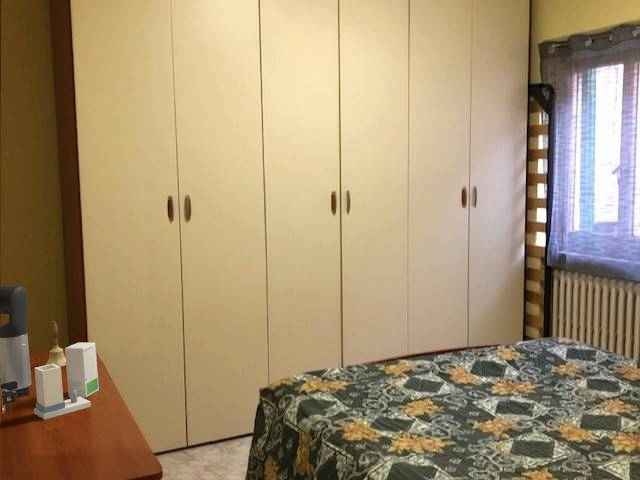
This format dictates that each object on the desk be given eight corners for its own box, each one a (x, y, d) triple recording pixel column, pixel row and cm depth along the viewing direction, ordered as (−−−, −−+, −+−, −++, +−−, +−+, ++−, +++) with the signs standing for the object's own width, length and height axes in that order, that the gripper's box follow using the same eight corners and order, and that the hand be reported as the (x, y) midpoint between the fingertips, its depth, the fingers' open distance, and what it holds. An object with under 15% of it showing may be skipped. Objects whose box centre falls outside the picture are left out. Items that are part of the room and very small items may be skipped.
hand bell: (50, 369, 252) (47, 324, 250) (41, 364, 258) (38, 321, 256) (73, 364, 257) (70, 320, 255) (64, 359, 263) (60, 317, 261)
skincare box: (86, 398, 219) (82, 348, 217) (66, 397, 221) (63, 348, 219) (99, 389, 227) (96, 341, 226) (80, 388, 229) (77, 341, 227)
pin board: (44, 419, 202) (43, 402, 202) (34, 413, 207) (33, 397, 207) (91, 406, 212) (89, 390, 211) (80, 401, 217) (79, 385, 216)
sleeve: (44, 412, 203) (41, 371, 201) (36, 408, 207) (33, 367, 205) (65, 407, 207) (62, 367, 205) (56, 402, 211) (53, 363, 210)
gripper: (-31, 394, 184) (32, 379, 195) (-49, 383, 194) (12, 369, 205) (-28, 422, 185) (34, 406, 196) (-47, 409, 195) (14, 395, 206)
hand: (22, 387), depth 201 cm, fingers open, 8 cm apart
